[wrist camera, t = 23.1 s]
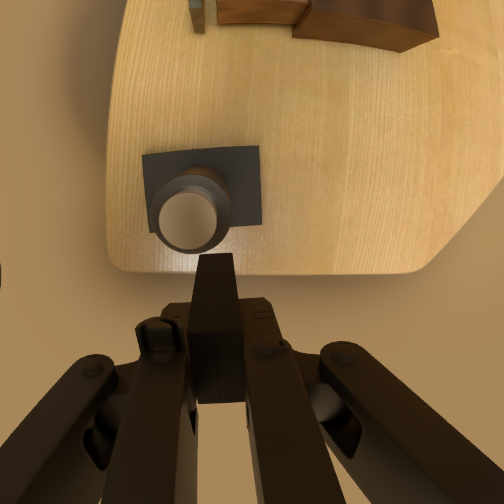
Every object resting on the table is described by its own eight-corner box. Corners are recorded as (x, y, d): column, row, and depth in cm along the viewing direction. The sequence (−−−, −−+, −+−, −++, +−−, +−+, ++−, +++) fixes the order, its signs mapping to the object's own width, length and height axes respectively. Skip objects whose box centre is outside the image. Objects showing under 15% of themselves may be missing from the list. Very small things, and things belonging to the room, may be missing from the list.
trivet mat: (150, 231, 36) (149, 233, 35) (143, 155, 33) (141, 155, 32) (261, 223, 37) (262, 224, 36) (258, 145, 34) (258, 145, 33)
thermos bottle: (179, 216, 35) (149, 267, 20) (175, 166, 33) (138, 180, 18) (229, 212, 35) (235, 261, 20) (226, 162, 33) (230, 172, 18)
